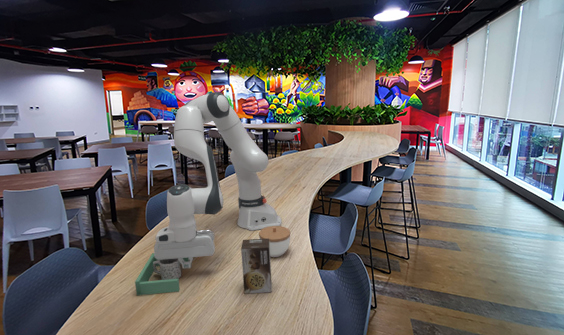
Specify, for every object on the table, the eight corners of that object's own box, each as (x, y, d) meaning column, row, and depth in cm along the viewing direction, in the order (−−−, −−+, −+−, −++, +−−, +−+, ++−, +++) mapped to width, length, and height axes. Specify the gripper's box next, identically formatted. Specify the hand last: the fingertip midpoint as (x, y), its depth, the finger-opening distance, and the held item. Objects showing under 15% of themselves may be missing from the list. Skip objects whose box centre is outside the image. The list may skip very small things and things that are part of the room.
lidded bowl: (263, 263, 112) (262, 236, 110) (257, 248, 124) (255, 223, 122) (294, 257, 116) (294, 231, 113) (285, 243, 128) (284, 219, 125)
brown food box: (271, 281, 101) (270, 237, 98) (271, 292, 95) (270, 247, 91) (245, 282, 101) (242, 238, 97) (243, 294, 95) (240, 248, 91)
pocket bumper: (189, 262, 114) (187, 250, 113) (178, 291, 97) (177, 277, 95) (154, 264, 113) (152, 253, 112) (136, 295, 95) (134, 281, 94)
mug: (184, 271, 108) (182, 255, 106) (175, 282, 101) (173, 265, 100) (159, 270, 109) (157, 253, 108) (149, 280, 103) (146, 263, 101)
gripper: (214, 225, 106) (217, 260, 109) (155, 230, 104) (160, 265, 107) (213, 233, 100) (215, 269, 103) (150, 237, 97) (155, 275, 100)
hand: (187, 267), depth 105 cm, fingers closed
